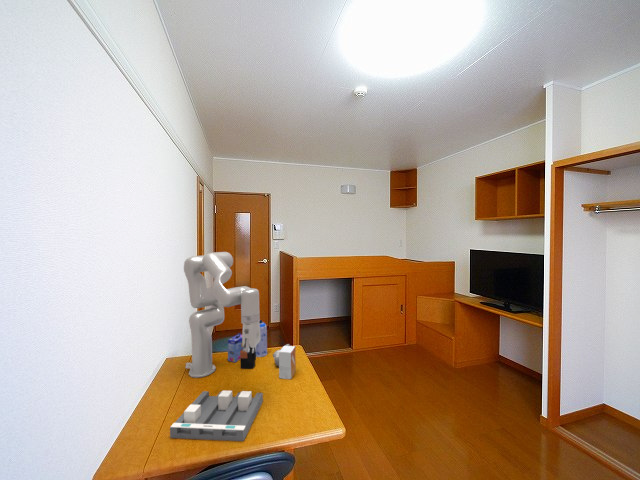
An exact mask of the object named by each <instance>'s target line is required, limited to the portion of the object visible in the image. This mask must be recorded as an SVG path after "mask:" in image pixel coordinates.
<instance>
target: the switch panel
mask: <svg viewBox="0 0 640 480" xmlns="http://www.w3.org/2000/svg"><path fill="white" fill-rule="evenodd" d="M221 392H222V391H219V392H218V394H217V395H210V391H209V390H208V391H206V390H203V391H202V392H201V393H200V394H199V396H197V398H196V399H194V400H193V402H192V403H191V404H193V405H201V416H200V418H199V419H198V420H197V421H196V423H195V424H192V423H184V412H183V413H182V414H181V415H180V416H179V417H178V418H177V419H176V421H175V422H173V423H172V425H170V426H169V427H170V428H169V438H170V439H187V440H188V439H189V440H206V441H207V440H210V441H227V440H228V441H232V442H245V439H246V437H247V435H248V433H249V431H250V429H251V427H252V425H253V422H254V420H255V418H257V417H256V416H257V415H258V412H259V410H260V408H261V407H262V404H263V402H264V393H263V392H256V394H255V395H254V396H253V397H252V403H251V405H250V406H249V408H248V410H247V411H238V396H239V395H240V393H241V392H242V391H240V392H239V391H238V392H237V394H236V395H235V396H232V403H231V404H230V406H229V407H228V409H227V410H218V396H219V395H220V393H221Z"/></svg>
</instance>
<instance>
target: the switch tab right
mask: <svg viewBox="0 0 640 480" xmlns="http://www.w3.org/2000/svg"><path fill="white" fill-rule="evenodd" d="M240 392H241V393H240V395H239V396H238V411H247V410H248V408H249V406H250V405H251V403H252V396H253V395H252V390H249V391H248V390H241V391H240Z"/></svg>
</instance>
